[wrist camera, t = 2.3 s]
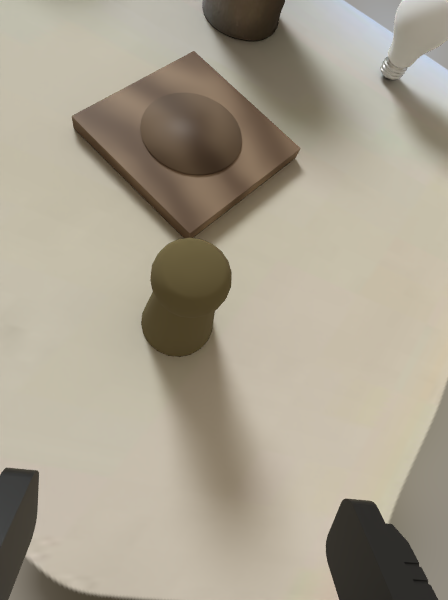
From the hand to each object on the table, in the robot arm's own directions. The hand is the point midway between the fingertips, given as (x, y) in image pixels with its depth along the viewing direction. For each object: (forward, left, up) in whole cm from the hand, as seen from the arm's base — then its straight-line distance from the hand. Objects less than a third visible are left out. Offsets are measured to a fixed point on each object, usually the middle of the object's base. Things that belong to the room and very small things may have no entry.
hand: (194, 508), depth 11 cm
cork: (+9, +8, -22) cm, 25 cm away
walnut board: (+23, +21, -22) cm, 38 cm away
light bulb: (+51, +14, -22) cm, 58 cm away
